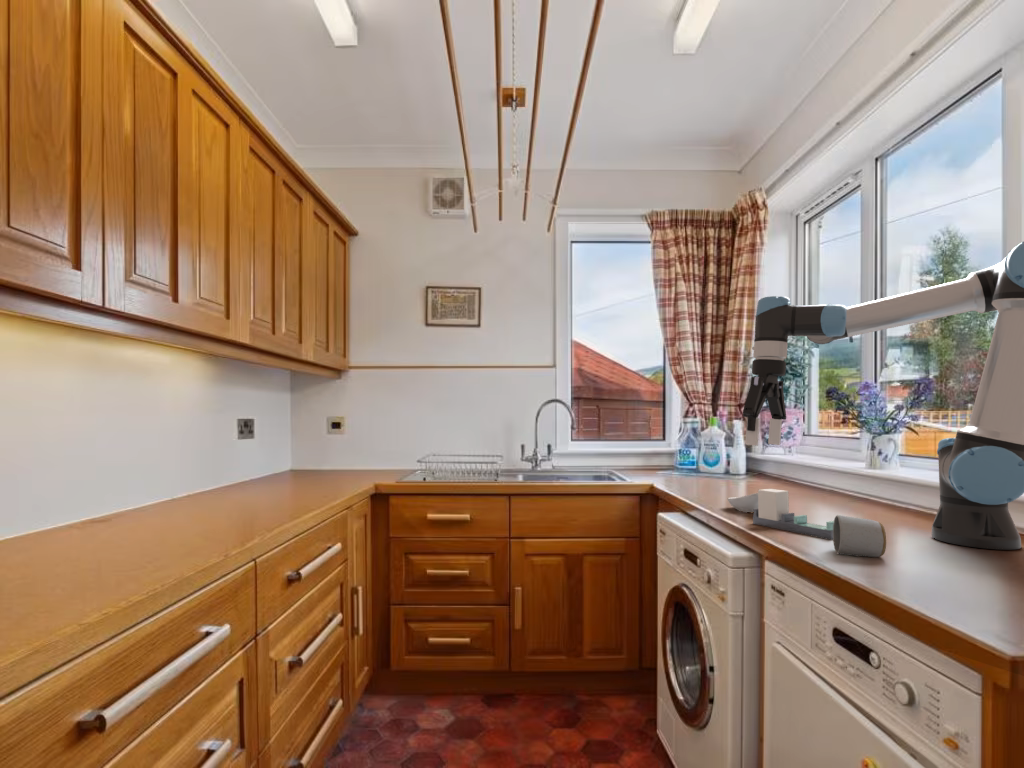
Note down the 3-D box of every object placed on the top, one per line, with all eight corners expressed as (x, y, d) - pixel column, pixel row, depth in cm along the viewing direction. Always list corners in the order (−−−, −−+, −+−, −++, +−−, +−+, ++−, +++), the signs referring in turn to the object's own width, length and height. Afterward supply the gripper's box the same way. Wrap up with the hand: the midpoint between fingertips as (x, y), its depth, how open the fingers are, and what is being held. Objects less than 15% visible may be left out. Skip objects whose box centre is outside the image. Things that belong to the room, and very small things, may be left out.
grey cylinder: (889, 561, 102) (887, 521, 102) (840, 557, 105) (839, 518, 105) (873, 550, 112) (871, 513, 112) (828, 546, 115) (827, 510, 115)
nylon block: (789, 519, 134) (788, 491, 134) (776, 520, 131) (776, 492, 132) (770, 515, 138) (770, 488, 139) (758, 517, 136) (758, 489, 136)
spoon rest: (720, 508, 163) (720, 484, 163) (758, 508, 163) (757, 484, 164) (760, 523, 139) (759, 496, 140) (803, 523, 140) (803, 496, 140)
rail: (841, 537, 122) (840, 521, 122) (831, 539, 120) (830, 522, 120) (762, 522, 140) (762, 507, 140) (753, 523, 138) (752, 508, 138)
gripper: (773, 364, 143) (767, 442, 143) (731, 354, 126) (725, 443, 126) (803, 364, 138) (797, 446, 137) (764, 354, 121) (757, 447, 120)
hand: (763, 444), depth 132 cm, fingers open, 13 cm apart
